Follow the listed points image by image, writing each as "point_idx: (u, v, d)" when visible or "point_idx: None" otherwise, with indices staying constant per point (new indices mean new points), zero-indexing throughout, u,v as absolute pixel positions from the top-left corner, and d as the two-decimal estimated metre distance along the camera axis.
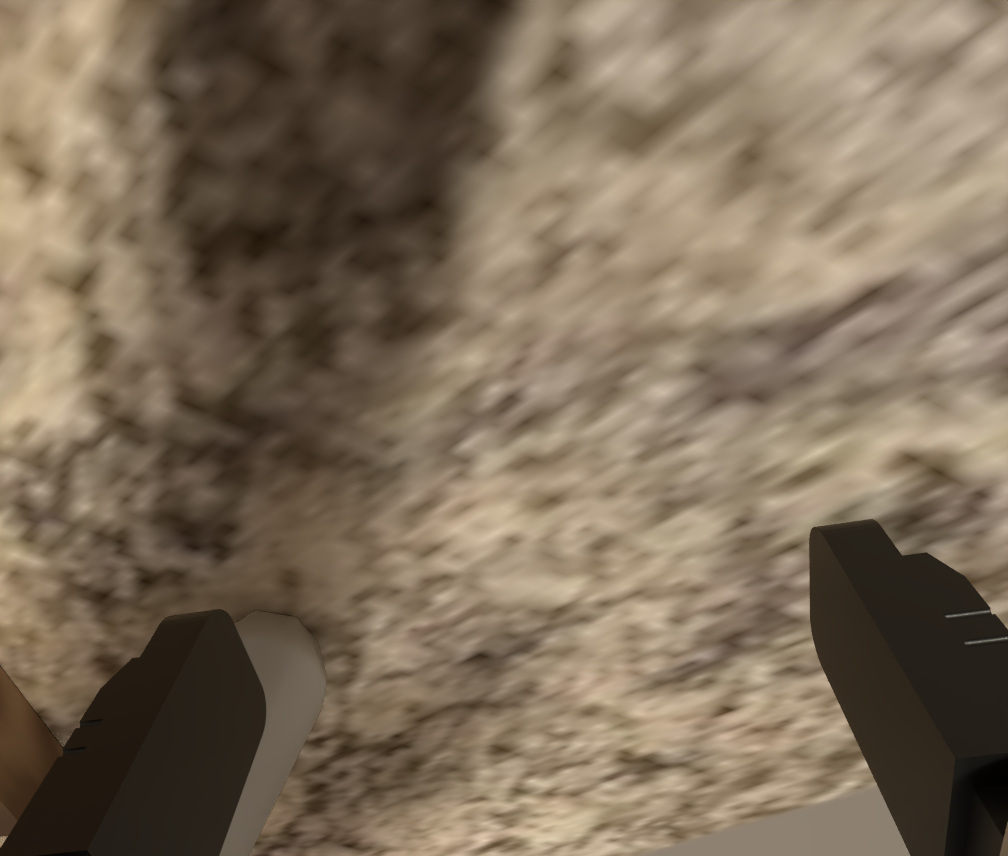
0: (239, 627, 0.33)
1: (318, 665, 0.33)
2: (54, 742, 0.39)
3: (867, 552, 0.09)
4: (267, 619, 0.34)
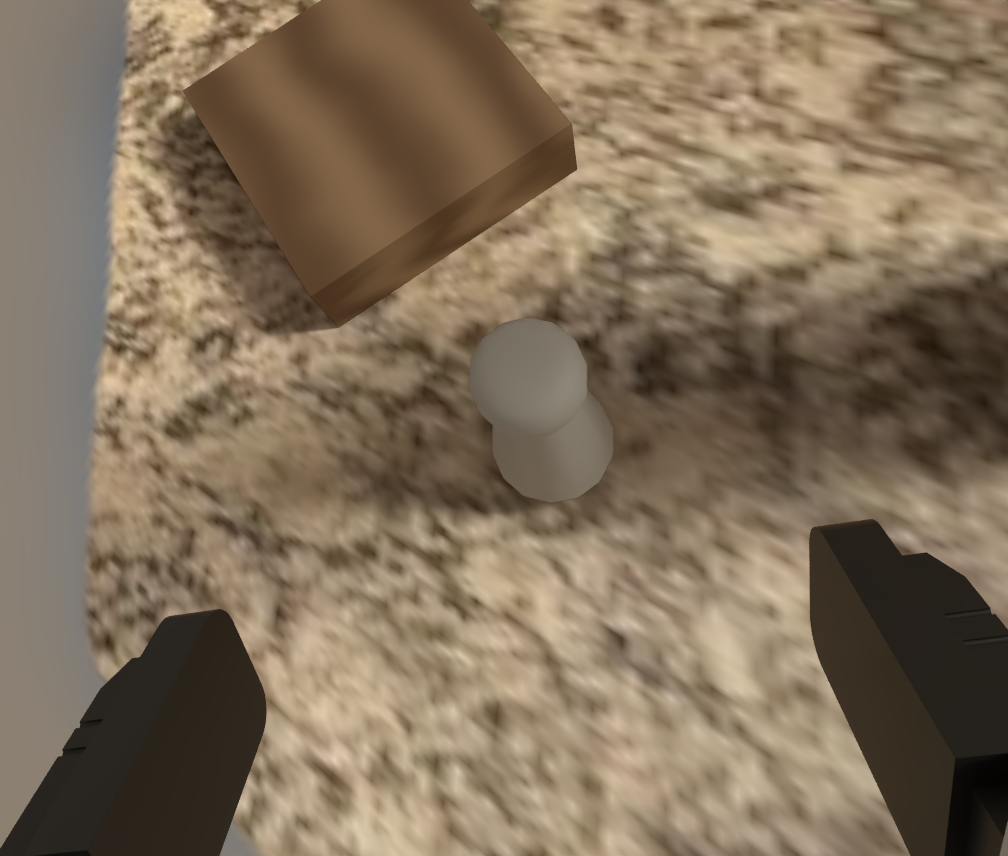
0: None
1: (594, 485, 0.36)
2: (359, 311, 0.43)
3: (867, 552, 0.09)
4: None
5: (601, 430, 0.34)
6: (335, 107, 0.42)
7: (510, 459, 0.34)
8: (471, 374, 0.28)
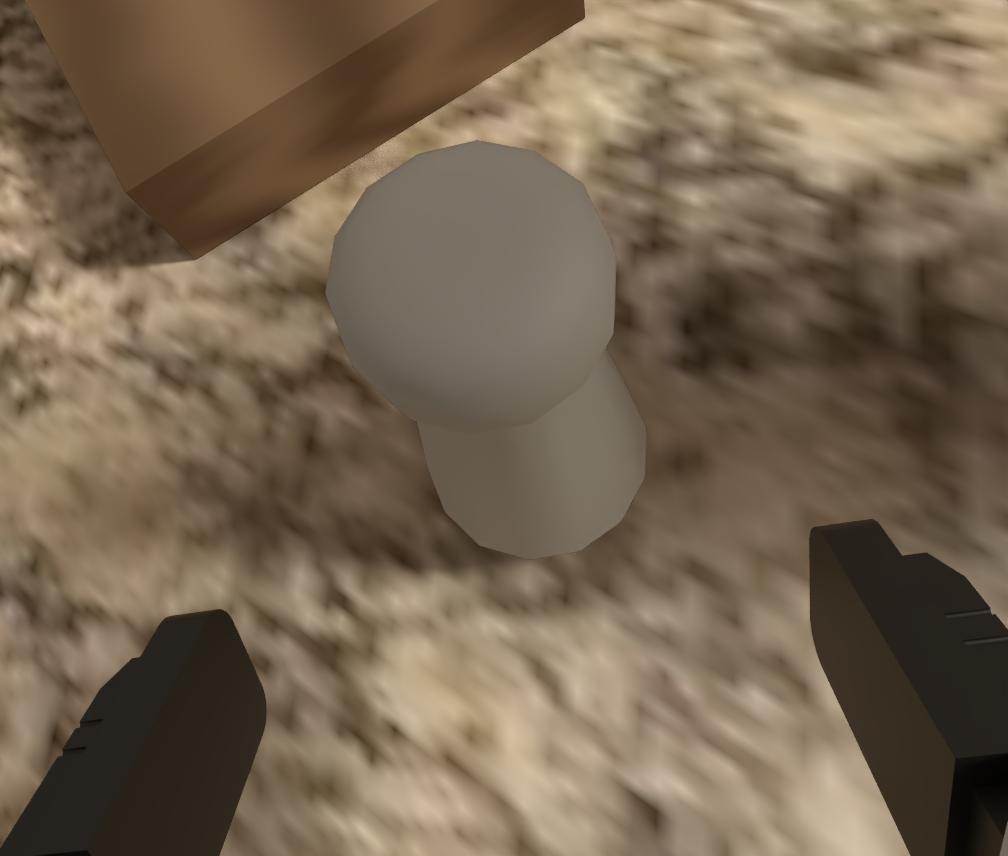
0: None
1: (609, 529, 0.20)
2: (229, 234, 0.27)
3: (867, 552, 0.09)
4: None
5: (629, 427, 0.18)
6: None
7: (450, 479, 0.17)
8: (332, 270, 0.11)
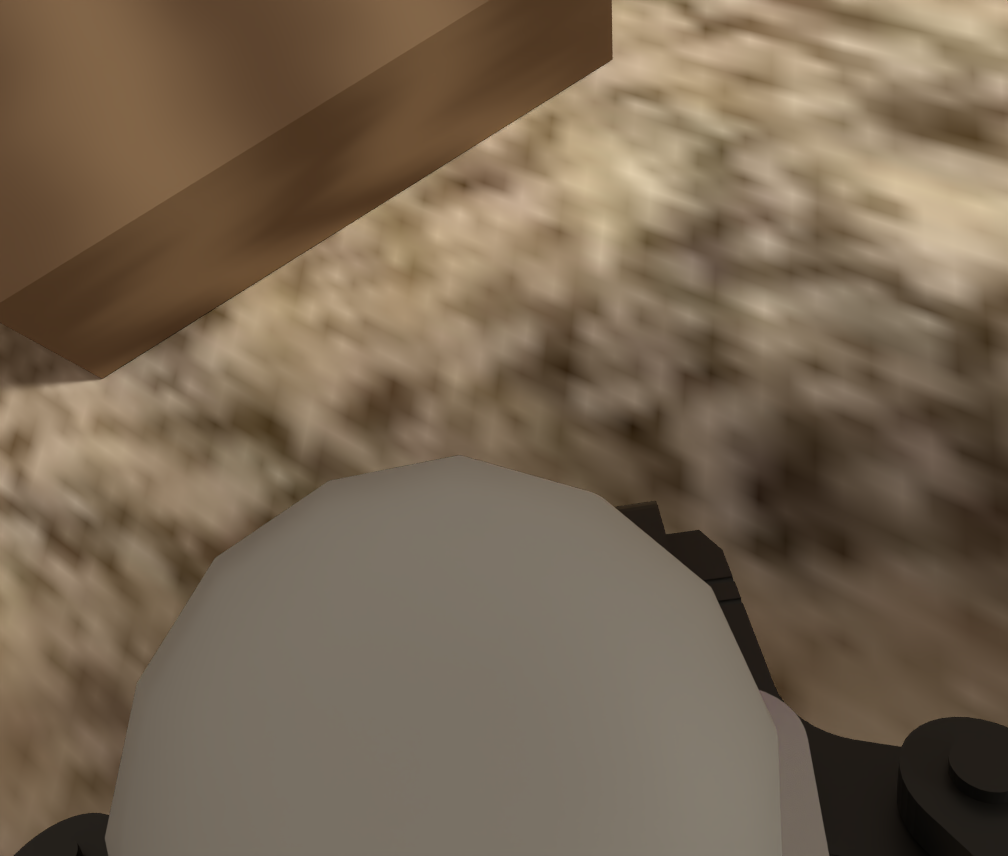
0: None
1: None
2: (146, 346, 0.20)
3: None
4: None
5: None
6: None
7: None
8: (119, 788, 0.05)
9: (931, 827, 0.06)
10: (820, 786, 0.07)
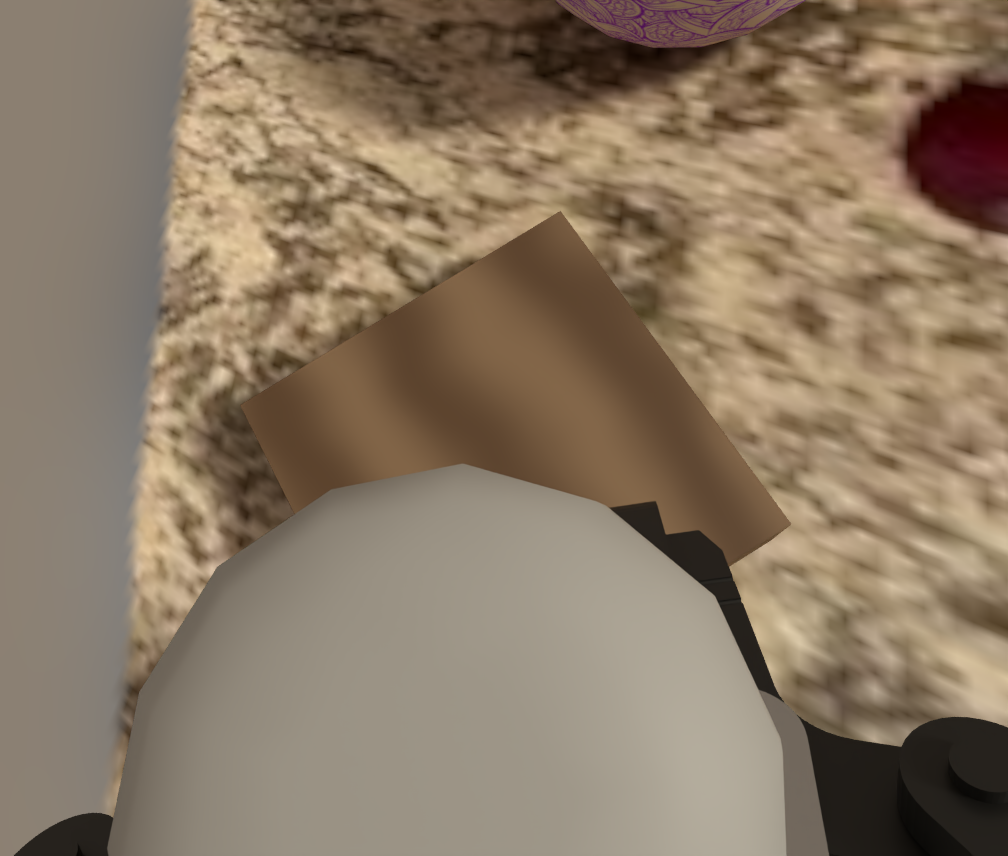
0: None
1: None
2: None
3: (638, 528, 0.10)
4: None
5: None
6: (452, 456, 0.31)
7: None
8: (121, 798, 0.05)
9: (931, 827, 0.06)
10: (820, 785, 0.07)
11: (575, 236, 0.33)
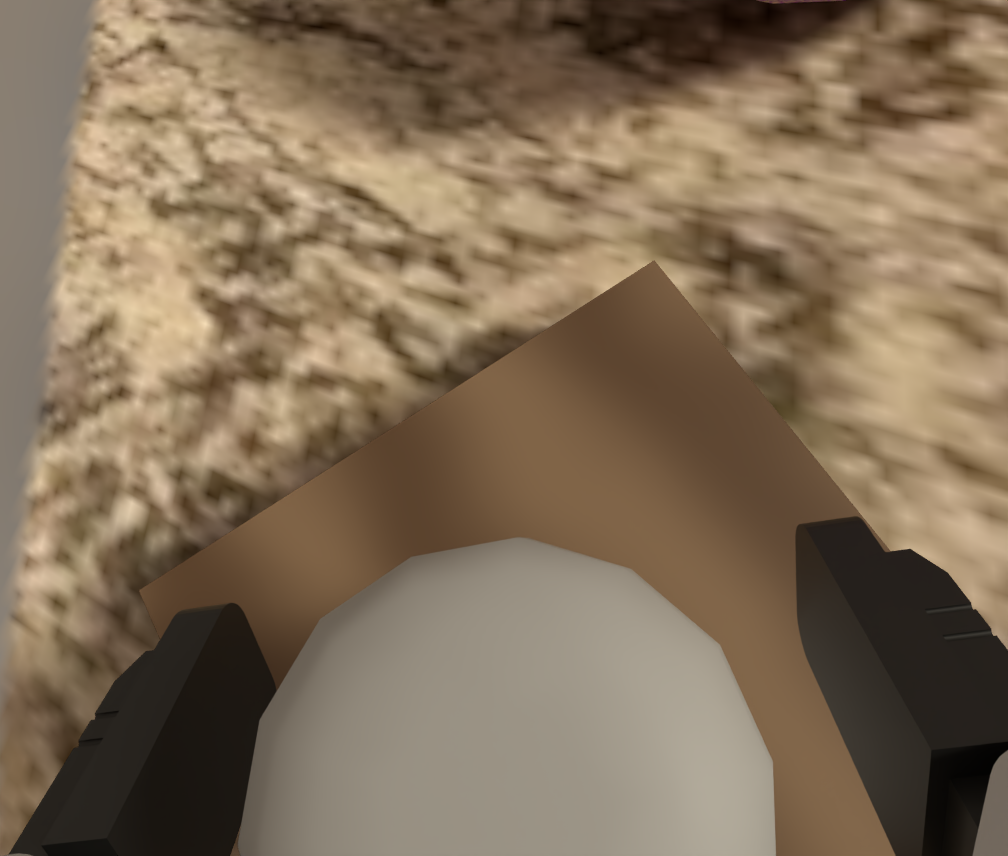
0: None
1: None
2: None
3: (850, 549, 0.09)
4: None
5: None
6: None
7: None
8: (249, 805, 0.06)
9: None
10: None
11: (682, 302, 0.20)
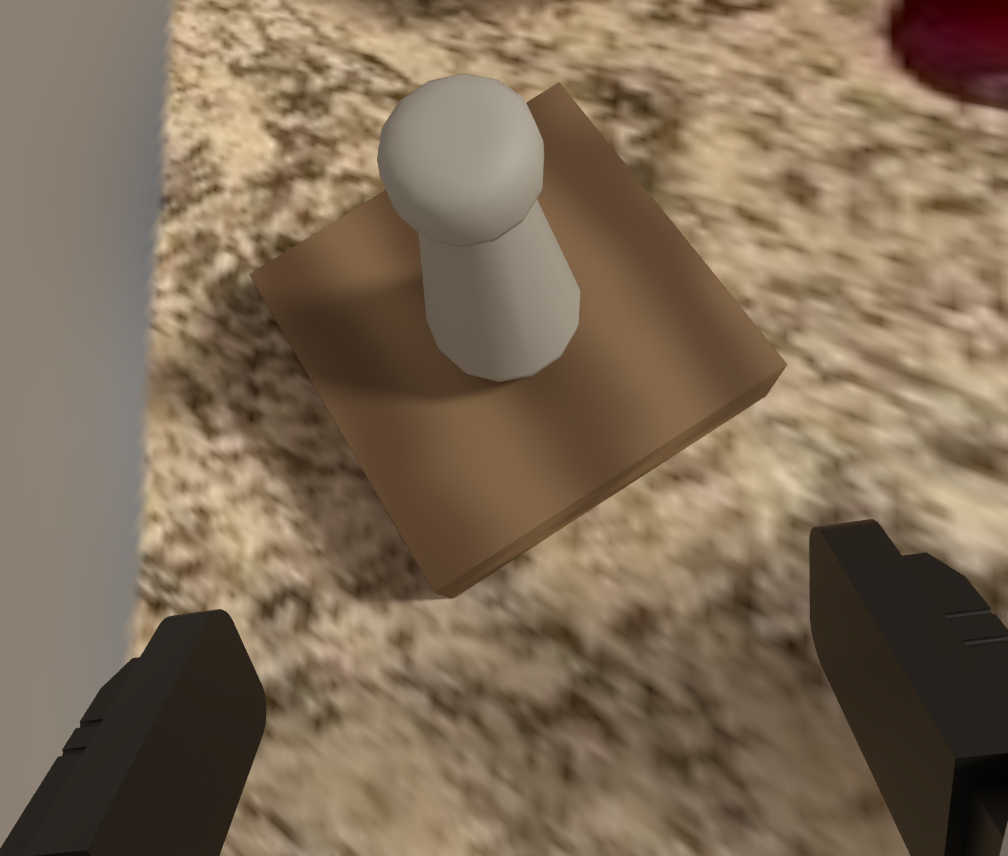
0: None
1: (553, 360, 0.29)
2: (482, 579, 0.33)
3: (867, 552, 0.09)
4: None
5: (564, 279, 0.26)
6: None
7: (444, 309, 0.26)
8: (380, 146, 0.20)
9: None
10: None
11: (574, 105, 0.34)
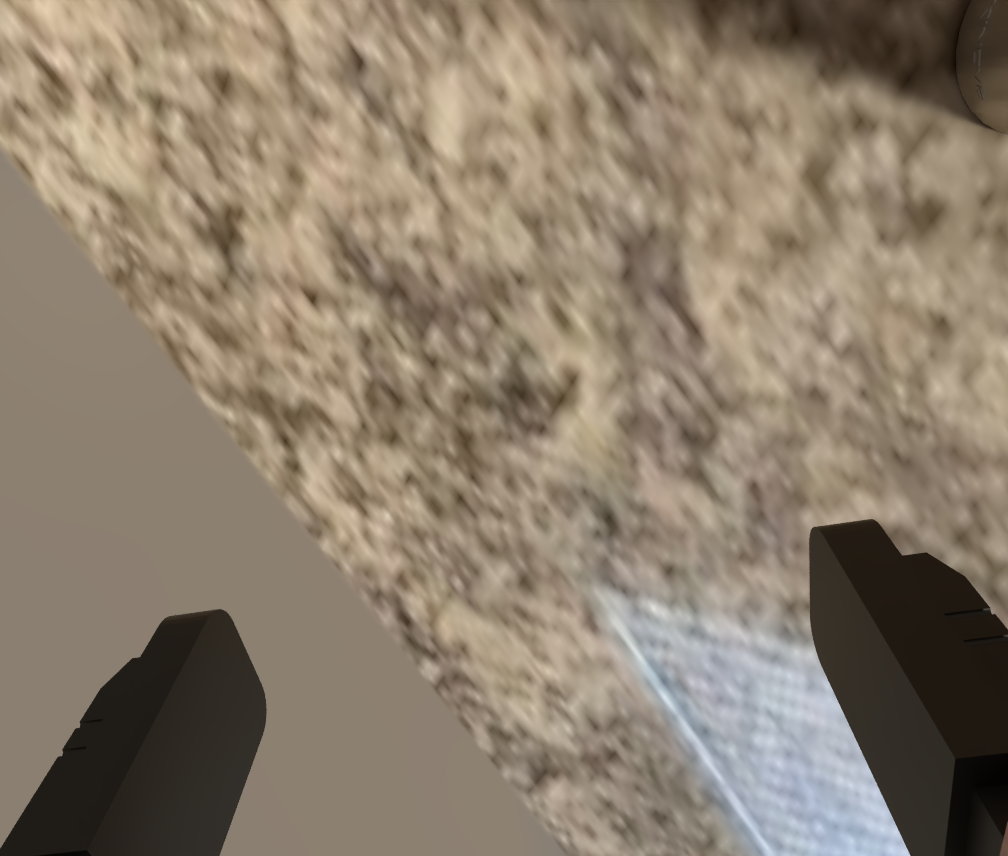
0: None
1: None
2: None
3: (867, 552, 0.09)
4: None
5: None
6: None
7: None
8: None
9: None
10: None
11: None
